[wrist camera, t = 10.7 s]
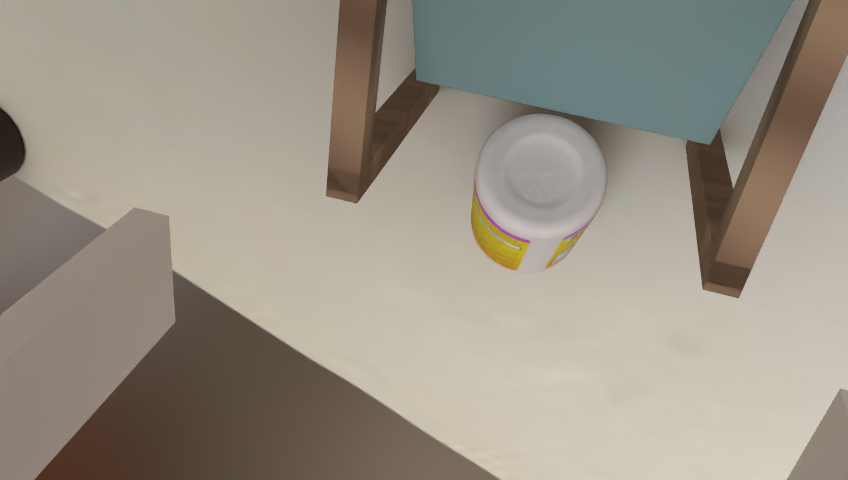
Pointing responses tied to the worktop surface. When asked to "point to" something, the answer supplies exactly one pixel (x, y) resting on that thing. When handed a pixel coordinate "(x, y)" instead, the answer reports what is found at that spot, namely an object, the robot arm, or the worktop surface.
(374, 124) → the frame
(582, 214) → the supplement bottle
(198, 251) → the worktop surface
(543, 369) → the worktop surface
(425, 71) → the trapdoor
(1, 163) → the vinegar
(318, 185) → the worktop surface
